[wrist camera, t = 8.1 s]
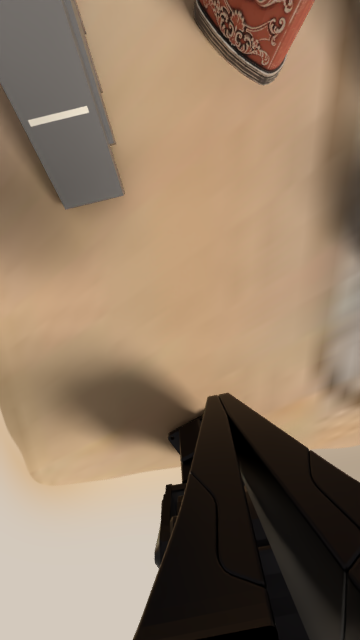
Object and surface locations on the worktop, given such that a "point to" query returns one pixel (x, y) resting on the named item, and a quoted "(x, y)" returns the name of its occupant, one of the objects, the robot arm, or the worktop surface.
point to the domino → (56, 100)
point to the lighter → (252, 32)
